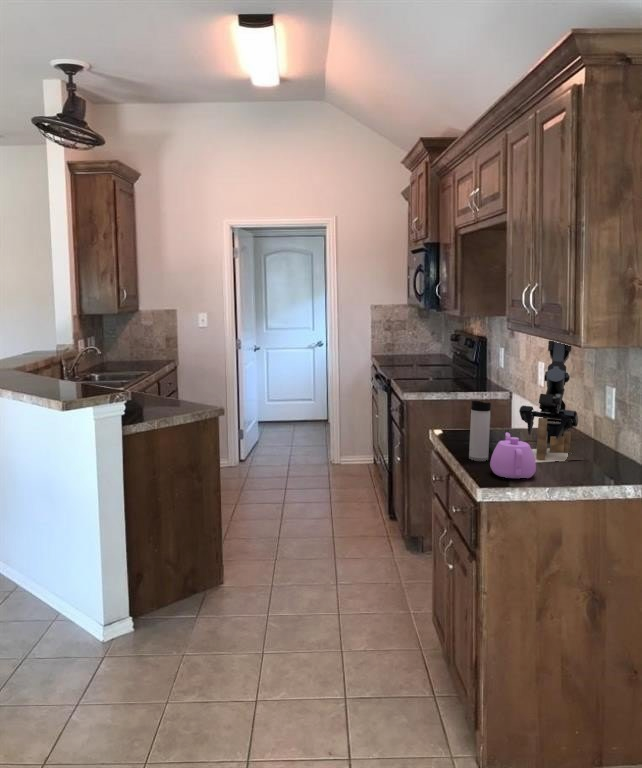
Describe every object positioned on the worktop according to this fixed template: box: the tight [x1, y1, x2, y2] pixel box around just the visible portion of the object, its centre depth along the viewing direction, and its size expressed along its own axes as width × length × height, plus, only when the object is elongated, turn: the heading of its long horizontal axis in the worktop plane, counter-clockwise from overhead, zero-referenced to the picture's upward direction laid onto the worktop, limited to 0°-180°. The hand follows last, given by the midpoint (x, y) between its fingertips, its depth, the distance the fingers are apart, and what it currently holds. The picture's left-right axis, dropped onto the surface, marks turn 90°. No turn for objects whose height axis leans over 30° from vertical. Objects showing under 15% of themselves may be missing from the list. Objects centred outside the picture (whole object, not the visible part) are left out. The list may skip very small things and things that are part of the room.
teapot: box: [489, 432, 537, 479], centre depth 219 cm, size 20×13×12 cm, turn 177°
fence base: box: [546, 430, 572, 453], centre depth 250 cm, size 9×3×8 cm, turn 104°
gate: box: [536, 417, 548, 459], centre depth 243 cm, size 12×3×13 cm, turn 156°
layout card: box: [531, 447, 568, 464], centre depth 247 cm, size 21×18×1 cm
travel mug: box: [468, 400, 492, 462], centre depth 238 cm, size 6×7×20 cm
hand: (542, 436), depth 240 cm, fingers open, 9 cm apart
